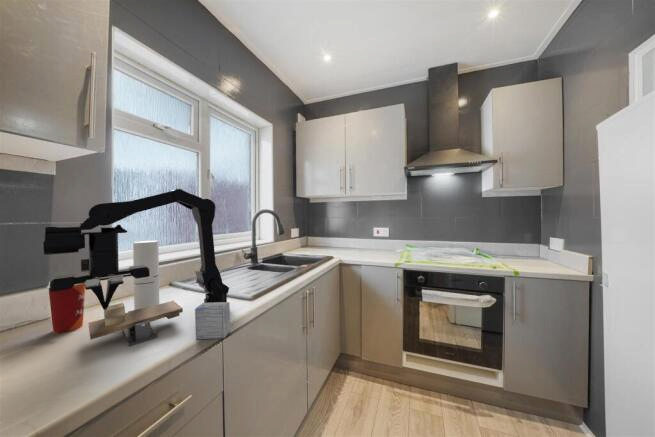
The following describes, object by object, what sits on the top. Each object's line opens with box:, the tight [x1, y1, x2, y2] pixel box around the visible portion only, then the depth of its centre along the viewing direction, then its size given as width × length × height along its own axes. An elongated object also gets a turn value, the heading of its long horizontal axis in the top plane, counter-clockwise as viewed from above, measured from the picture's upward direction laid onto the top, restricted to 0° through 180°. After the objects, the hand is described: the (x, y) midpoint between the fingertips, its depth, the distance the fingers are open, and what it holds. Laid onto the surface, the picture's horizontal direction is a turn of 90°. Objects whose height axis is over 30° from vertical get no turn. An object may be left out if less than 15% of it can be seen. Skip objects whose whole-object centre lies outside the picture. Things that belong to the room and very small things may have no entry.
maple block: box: [103, 302, 126, 326], centre depth 64 cm, size 4×4×4 cm
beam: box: [88, 300, 184, 341], centre depth 68 cm, size 20×10×3 cm, turn 137°
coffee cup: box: [46, 281, 86, 334], centre depth 71 cm, size 8×8×15 cm
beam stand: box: [122, 309, 158, 347], centre depth 68 cm, size 6×15×5 cm, turn 47°
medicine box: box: [194, 301, 231, 340], centre depth 66 cm, size 8×4×9 cm, turn 92°
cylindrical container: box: [132, 240, 160, 310], centre depth 84 cm, size 7×7×25 cm
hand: (105, 308), depth 63 cm, fingers closed
